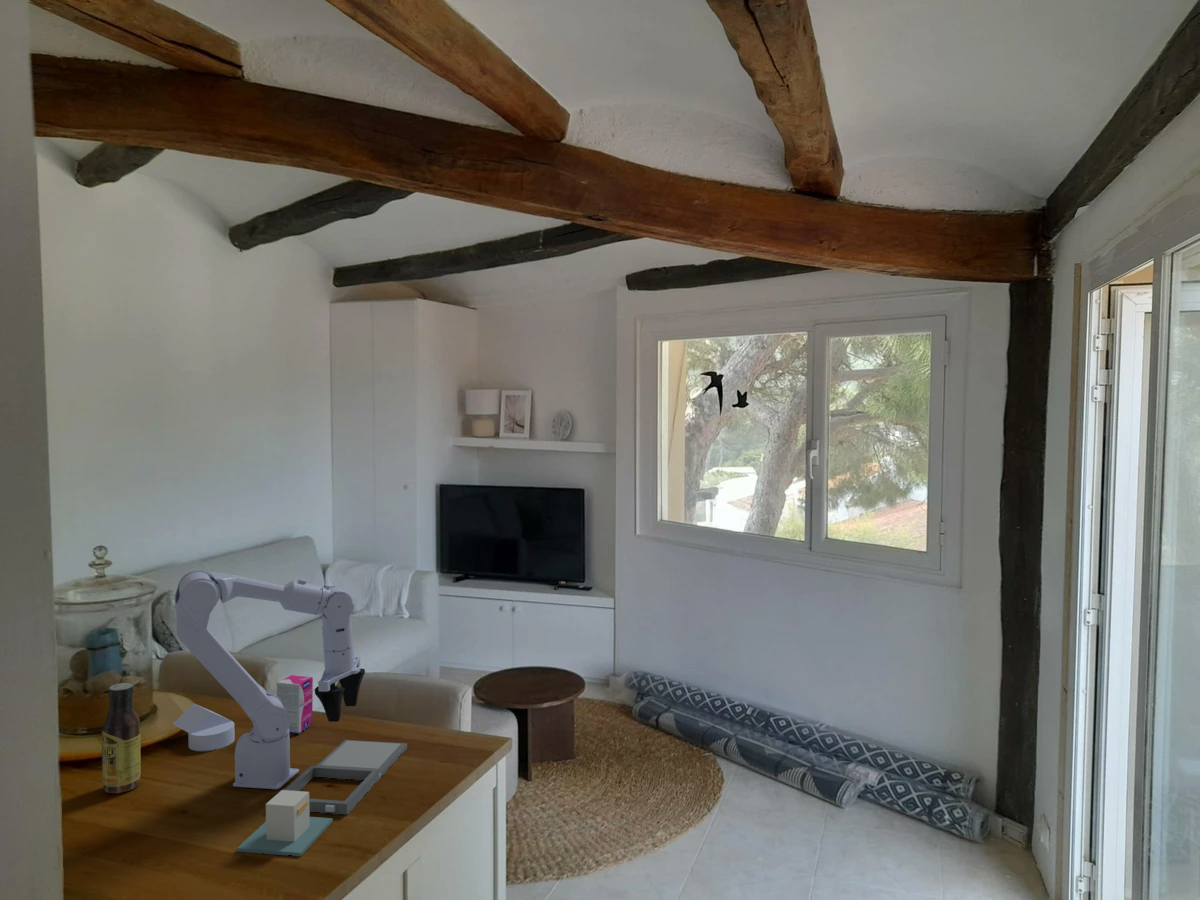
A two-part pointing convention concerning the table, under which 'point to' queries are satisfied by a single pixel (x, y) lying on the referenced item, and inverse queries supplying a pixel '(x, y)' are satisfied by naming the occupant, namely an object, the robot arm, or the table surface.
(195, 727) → the wedge on round base
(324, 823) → the mat
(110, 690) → the sauce bottle
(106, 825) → the table surface
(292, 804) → the block
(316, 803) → the case
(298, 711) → the supplement box
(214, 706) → the table surface
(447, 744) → the table surface
